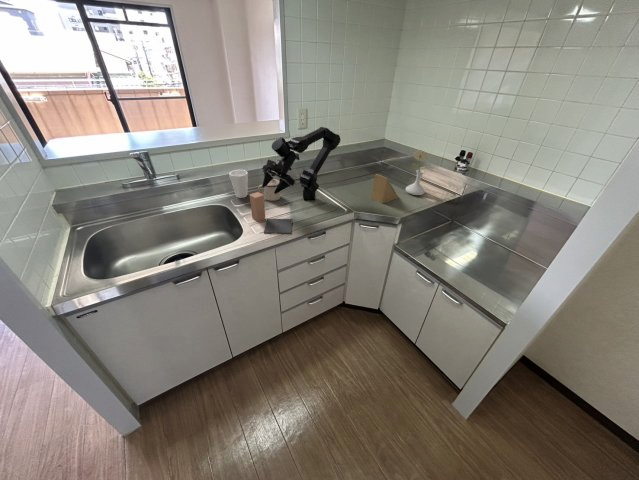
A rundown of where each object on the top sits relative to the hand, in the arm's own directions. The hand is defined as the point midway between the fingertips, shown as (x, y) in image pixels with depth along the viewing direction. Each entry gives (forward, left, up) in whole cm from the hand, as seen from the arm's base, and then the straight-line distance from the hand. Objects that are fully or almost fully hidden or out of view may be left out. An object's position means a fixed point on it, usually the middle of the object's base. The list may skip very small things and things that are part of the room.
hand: (268, 190), depth 123 cm
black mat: (-5, +12, -13) cm, 18 cm away
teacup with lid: (+2, -18, -13) cm, 23 cm away
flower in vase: (-84, -29, -13) cm, 90 cm away
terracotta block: (+5, +5, -13) cm, 15 cm away
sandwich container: (-64, -21, -13) cm, 69 cm away
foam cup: (+18, -20, -13) cm, 30 cm away
